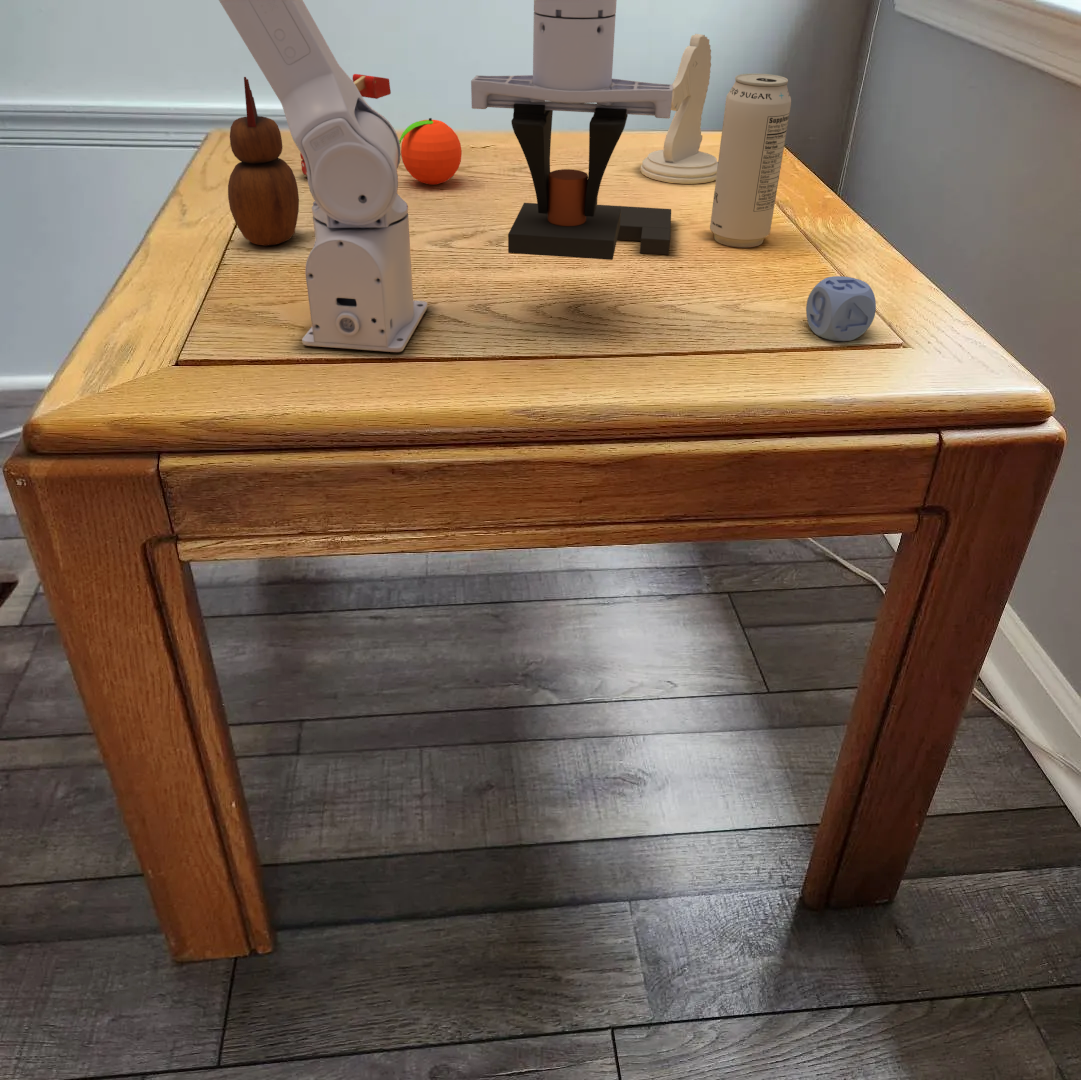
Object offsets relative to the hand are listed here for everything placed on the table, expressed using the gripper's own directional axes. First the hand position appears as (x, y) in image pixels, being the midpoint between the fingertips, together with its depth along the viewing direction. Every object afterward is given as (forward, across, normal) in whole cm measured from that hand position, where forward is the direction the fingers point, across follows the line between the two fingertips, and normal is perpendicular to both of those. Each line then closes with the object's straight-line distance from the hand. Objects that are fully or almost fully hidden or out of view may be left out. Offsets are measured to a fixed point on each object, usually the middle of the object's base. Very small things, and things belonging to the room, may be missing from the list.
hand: (567, 211), depth 74 cm
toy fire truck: (+9, +31, -41) cm, 52 cm away
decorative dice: (+9, -22, -2) cm, 24 cm away
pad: (+2, 0, -2) cm, 3 cm away
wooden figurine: (+9, +31, -14) cm, 35 cm away
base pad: (+9, -3, -22) cm, 24 cm away
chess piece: (+9, -9, -48) cm, 49 cm away
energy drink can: (+9, -15, -24) cm, 30 cm away
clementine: (+9, +20, -36) cm, 42 cm away
